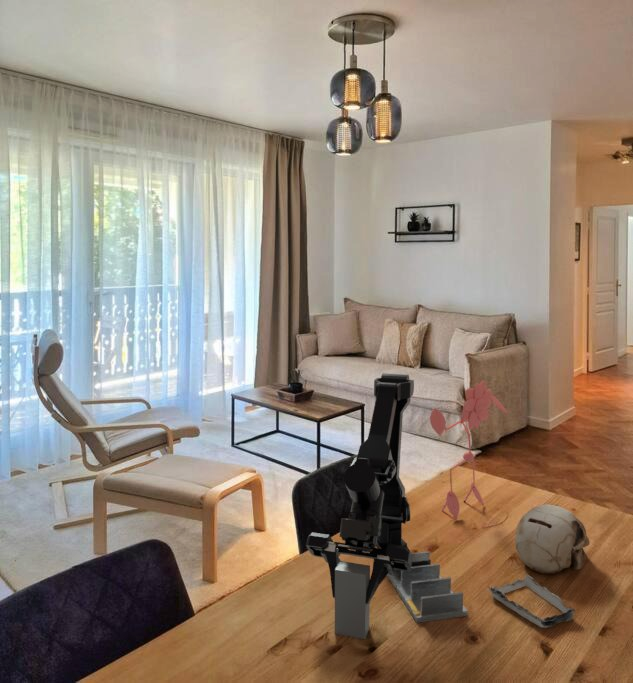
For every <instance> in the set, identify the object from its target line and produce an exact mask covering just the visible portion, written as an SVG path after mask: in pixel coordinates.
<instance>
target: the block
mask: <svg viewBox="0 0 633 683" xmlns="http://www.w3.org/2000/svg"><path fill="white" fill-rule="evenodd" d="M370 578H371V565H370V564H361V563H357V562H356V563H355V562H349V561H343V560H341V561H339V563H338V565H337V567H336V569H335V598H334V634H336V635H341V636H346V637H351V638H355V639H361V640H366V638H367V636H368V633H369V630H370V607H371V606H370V603H371V601H370V602H369V604H366V603H365V601H366V594H367V590H368V586H369V582H370Z"/></svg>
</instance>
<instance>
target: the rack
mask: <svg viewBox="0 0 633 683" xmlns="http://www.w3.org/2000/svg"><path fill="white" fill-rule="evenodd" d="M430 555H431V554H430V551H429V550H428V551H420V552H419V551H418V552H412V553H411V556H412V565H411V571H404V570H397V569H394V568H393V569H394V573H388V574H387V576H386V577H387V579H389V580H390V583H391V584H392V586H393V588H394V589H395V590H396V592H397V593H398V595H399V596H400V598H401V600H402V602H403V604H404V605H405V607H406V608H407V609H408V611H409V613H410V615H411V616H412V618H413V619H414V621H415V622H416V624H418V623H426V622H433V621H439V620H448V619H453V618H461V617H468V616H469V610H468V609H467V608H466V607H465V605H464V593H463V592H462V591H458V592H453V590H452V589H451V588H452V578H451V576H448V577H442V576H441V575H440V573H441V571H440V569H441V566H440V565H441V564H440V563H433V564H432V562H431V561H432V560H431V558H430Z"/></svg>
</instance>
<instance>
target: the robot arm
mask: <svg viewBox="0 0 633 683" xmlns="http://www.w3.org/2000/svg"><path fill="white" fill-rule="evenodd" d="M414 389H415V381H414V379H410V376H409V374H400V373H399V374H397V373H384V372H383V373H382V374H381V376H380V377H376V378H375V379H374V382H373V396H375V402H374V406H373V411H372V417H371V423H370V427H369V431H368V436H367V439H366V440H364V442H362V443H361V444H360V446H359V448H358V452H357V455H356V456H355V457H354V458H353V460H352V463H350V465H349V467H348V468H347V469H346V471H345V472H344V473H343V474H344V475H343V482H344V485H345V487H346V489H347V492H348V494H349V496H350V499H352V503H351V508H350V511H349V512H348V513H349V514H348V517H347V518H344V517H343V518H341V519H340V529H339V536H338V537H339V538H341V540H342V541H344V542H339V541H334V540H333V539H332V537H331V535H330V534H326V533H318V532H311V533H310V534H309V535H308V536H307V538H306V542H305V543H306V544H305V547H306V549H307V550H308V551H309V553H310V554H311V556H314V557H317V558H323V560H324V561H325V562H326V563H327V565H328V568H329V574H330V583H331V584H330V585H331V592H332V598H333V599H335V569H336V567H337V565H338V563H339V561H342V560H341V559H340V556H341V555H346V556H347V555H348V556H354V557H359V558H365V559H372V560H373V562H372V563H373V564H372V570H371V573H370V582H369V586H368V590H367V594H366V601H365V603H366V604H369V602H370V603H371V601H372V599H373V598H374V595H375V593H376V592H377V590H378V589H379V586H380V585H381V584H382V582H383V581H384V579H385V578H386V577H388V576H387V574H388V573H394V569H397V570H404V571H411V565H412V556H411V550H410V549H409V547H408V543H407V542H406V541H405V540H404V539H403V537H402V536H403V535H402V534H403V531H402V530H403V529H402V528H403V527H402V526H403V524H404V525H406V524H407V522H411V506H410V503H409V501H408V500H409V499H408V497H407V496H406V488H405V486H404V484H403V482H402V479H401V478H400V469H401V468H400V467H401V466H400V464H401V448H402V433H403V417H404V416H403V415H404V412H405V410H406V409H407V408H408V406H410V403H411V397H412V396H413V395H414V392H415V391H414ZM393 568H394V569H393Z"/></svg>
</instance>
